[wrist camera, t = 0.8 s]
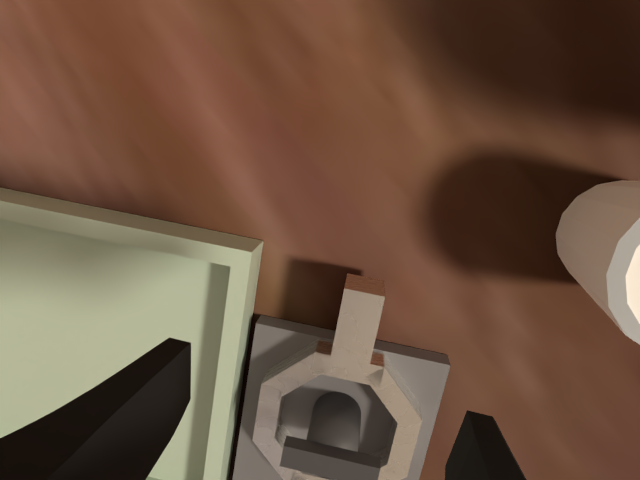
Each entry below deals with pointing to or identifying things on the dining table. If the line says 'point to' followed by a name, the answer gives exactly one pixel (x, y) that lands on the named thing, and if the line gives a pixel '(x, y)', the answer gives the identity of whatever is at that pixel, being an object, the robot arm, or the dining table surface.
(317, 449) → the base
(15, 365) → the tray
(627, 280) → the shot glass
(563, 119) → the dining table surface
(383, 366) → the ring
